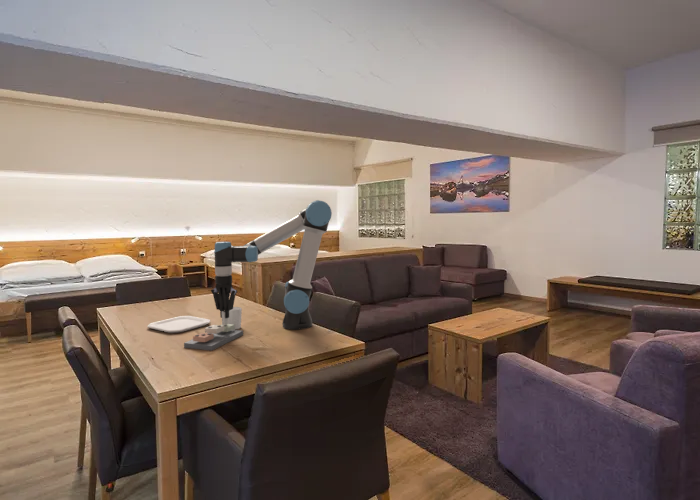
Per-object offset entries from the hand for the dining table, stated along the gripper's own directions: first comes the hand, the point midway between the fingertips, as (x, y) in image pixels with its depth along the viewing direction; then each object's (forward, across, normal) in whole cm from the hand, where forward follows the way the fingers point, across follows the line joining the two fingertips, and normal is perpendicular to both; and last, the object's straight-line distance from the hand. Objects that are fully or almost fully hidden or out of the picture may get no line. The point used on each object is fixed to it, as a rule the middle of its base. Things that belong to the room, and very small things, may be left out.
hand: (225, 324), depth 194 cm
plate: (+6, +33, -8) cm, 34 cm away
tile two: (+1, 0, +8) cm, 8 cm away
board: (+6, 0, +8) cm, 10 cm away
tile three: (+3, 0, +16) cm, 16 cm away
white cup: (+6, +4, -13) cm, 15 cm away
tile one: (+3, 0, 0) cm, 3 cm away
